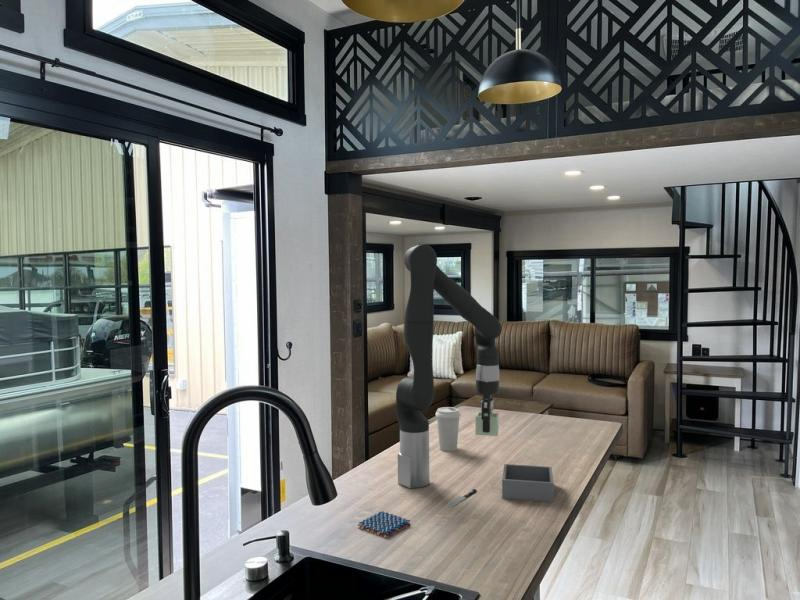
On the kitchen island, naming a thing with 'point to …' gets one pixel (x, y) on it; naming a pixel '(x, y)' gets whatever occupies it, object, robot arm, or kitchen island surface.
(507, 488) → the charcoal crate
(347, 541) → the kitchen island surface
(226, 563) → the kitchen island surface
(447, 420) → the coffee cup
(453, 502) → the chef's knife
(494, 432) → the sage crate
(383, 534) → the woven mat
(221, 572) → the kitchen island surface
